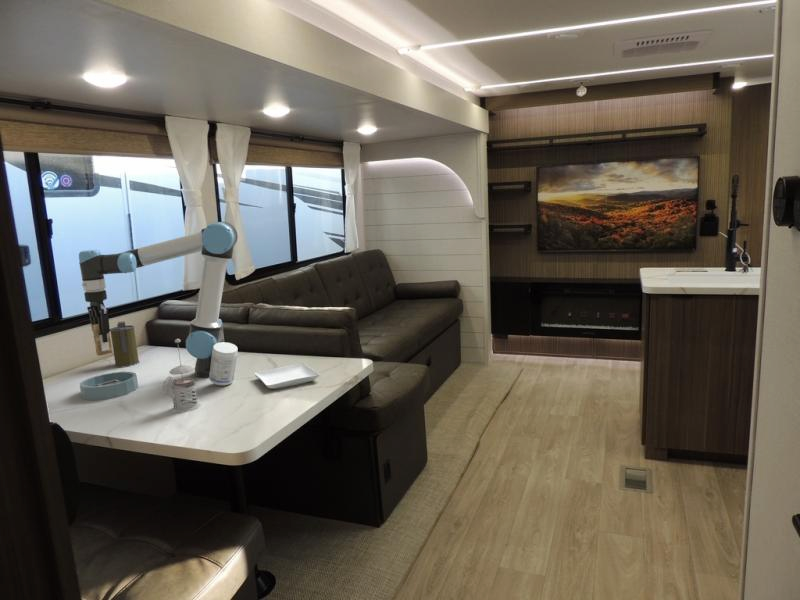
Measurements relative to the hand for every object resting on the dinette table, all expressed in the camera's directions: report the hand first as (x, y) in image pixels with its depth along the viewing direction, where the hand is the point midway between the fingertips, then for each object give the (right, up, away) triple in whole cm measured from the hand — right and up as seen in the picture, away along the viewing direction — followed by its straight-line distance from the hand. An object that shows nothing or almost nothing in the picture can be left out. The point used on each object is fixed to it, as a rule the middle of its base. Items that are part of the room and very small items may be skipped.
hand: (103, 349), depth 228 cm
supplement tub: (+45, -13, +3) cm, 47 cm away
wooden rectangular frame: (0, -2, 0) cm, 2 cm away
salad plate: (+71, -13, +3) cm, 73 cm away
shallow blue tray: (+1, -17, +3) cm, 17 cm away
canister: (-11, -11, +44) cm, 47 cm away
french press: (+40, -19, -23) cm, 49 cm away
